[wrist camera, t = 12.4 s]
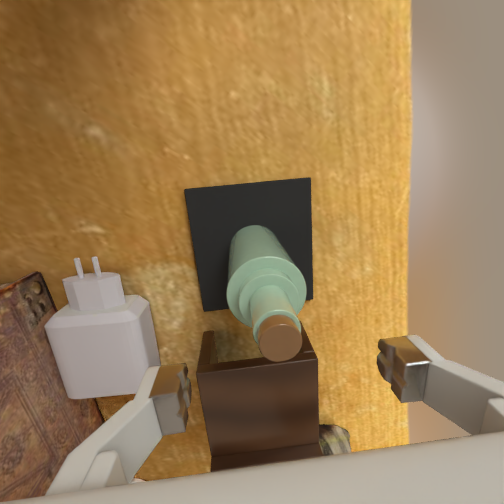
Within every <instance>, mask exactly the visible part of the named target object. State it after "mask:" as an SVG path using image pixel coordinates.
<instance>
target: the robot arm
mask: <svg viewBox="0 0 504 504" xmlns="http://www.w3.org/2000/svg"><path fill="white" fill-rule="evenodd" d="M378 348H379V349H380V351H381V352H380V353H379V354H378V356H377V365H378V369H379V372H380V374H381V375H382V377H383V378H384V380H386V381H387V382H389V383H391V389H392V391H393V392H394V394H395V395H396V396H397V398H398V399H399V400H400V402H401V403H405V402H415V401H423V402H424V403H425V404H427V405H429V406H430V407H431V408H433V409H434V410H436V411H437V412H439V413H440V414H442V415H443V416H445V417H446V418H448V419H449V420H451V421H452V422H454V423H455V424H457V425H458V426H459V427H461V428H462V429H464V430H465V431H467V432H468V433H470V434H471V435H470V436H463V437H456V438H449V439H443V440H435V441H428V442H421V443H415V444H407V445H400V446H393V447H386V448H379V449H371V450H364V451H357V452H350V453H343V454H336V455H329V456H322V457H315V458H308V459H301V460H294V461H287V462H280V463H273V464H266V465H259V466H252V467H245V468H238V469H230V470H223V471H216V472H209V473H202V474H195V475H188V476H181V477H174V478H167V479H160V480H153V481H146V482H139V483H132V484H129V482H130V481H131V480H132V478H133V477H134V475H135V474H136V473H137V471H138V470H139V469H140V467H141V466H142V465H143V463H144V462H145V460H146V459H147V458H148V456H149V455H150V454H151V452H152V451H153V449H154V448H155V447H156V445H157V444H158V443H159V441H160V440H161V438H162V436H163V435H170V434H176V433H182V432H185V431H186V425H187V420H188V412H187V408H188V407H189V406H190V403H191V382H190V379H189V378H187V374H188V368H187V364H186V363H181V364H171V365H161V366H153V367H148V368H147V369H146V371H145V374H144V376H143V378H142V381H141V383H140V385H139V388H138V390H137V393H136V395H135V397H134V400H132V401H129V402H128V403H126V404H125V405H124V406H123V407H122V408H121V409H120V410H118V411H117V412H116V413H115V414H114V415H113V416H112V417H110V418H109V419H108V420H107V421H106V422H105V423H104V424H102V425H101V426H100V427H99V428H98V429H97V430H96V431H94V432H93V433H92V434H91V435H90V436H89V437H88V438H87V439H85V440H84V441H83V442H82V443H81V444H80V445H79V446H77V447H76V448H75V449H74V450H73V451H72V452H71V453H69V454H68V456H67V457H66V459H65V461H64V463H63V464H62V466H61V468H60V470H59V471H58V473H57V475H56V477H55V478H54V480H53V482H52V484H51V485H50V487H49V489H48V491H47V492H46V494H45V496H40V497H33V498H26V499H19V500H12V501H5V502H0V504H504V382H502V381H500V380H497V379H495V378H492V377H490V376H487V375H485V374H482V373H480V372H477V371H475V370H473V369H470V368H468V367H465V366H463V365H461V364H458V363H456V362H453V361H451V360H445V359H444V358H443V357H442V356H441V355H439V354H438V353H437V352H436V351H435V350H434V349H433V348H432V347H430V346H429V345H428V344H427V343H426V342H425V341H424V340H423V339H422V338H420V337H419V336H418V335H415V334H414V335H407V336H402V337H394V338H386V339H380V340H379V342H378Z"/></svg>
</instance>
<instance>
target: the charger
mask: <svg viewBox="0 0 504 504" xmlns="http://www.w3.org/2000/svg"><path fill="white" fill-rule="evenodd" d="M92 262H93V266H94V270H95V273H88V274H84V273H83V269H82V266H81V262H80V258H75V259H74V263H75V266H76V270H77V274H78V275H77V276H72V277H68V278H64V279H62V281H63V285H64V288H65V292H66V295H67V299H68V302H69V303H68V304H67V305H65V306H64V307H63V308H62V309H60V310H59V311H58V312H56V313H55V314H54V315H53V316H52V317H51V318H50V319H49V321H48V322H47V323H46V324H45V326H44V327H45V330H46V333H47V336H48V339H49V342H50V345H51V348H52V351H53V354H54V357H55V360H56V363H57V366H58V369H59V372H60V375H61V378H62V381H63V384H64V387H65V390H66V393H67V396H68V397H69V398H71V399H85V398H95V397H105V396H115V395H125V394H135V393H137V390H138V388H139V385H140V383H141V381H142V378H143V376H144V374H145V371H146V369H147V368H148V367H153V366H161V362H160V357H159V352H158V347H157V342H156V336H155V331H154V326H153V321H152V316H151V310H150V305H149V301H147V300H145V299H144V298H142V297H141V296H139V295H124V292H123V288H122V283H121V279H120V275H119V274H118V273H111V272H101V270H100V266H99V262H98V258H97V257H96V256H94V257H92Z"/></svg>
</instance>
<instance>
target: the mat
mask: <svg viewBox="0 0 504 504" xmlns="http://www.w3.org/2000/svg"><path fill="white" fill-rule="evenodd" d="M184 191H185V197H186V204H187V210H188V216H189V222H190V228H191V235H192V241H193V247H194V253H195V259H196V266H197V272H198V278H199V284H200V290H201V297H202V303H203V309H204V312H206V311H215V310H223V309H230V308H229V305H228V302H227V278H228V260H229V246H230V242H231V240H232V238H233V236H234V235H235V234H236V233H237V232H238V231H239V230H241V229H242V228H244V227H247V226H252V225H259V226H263V227H266V228H268V229H269V230H271V231H272V232H273V233H274V234H275V235H276V237H277V238H278V240H279V241H280V243H281V244H282V246H283V247H284V249H285V250H286V251H287V253H288V254H289V256H290V257H291V259H292V260H293V262H294V263H295V265H296V266H297V267H298V269H299V270H300V272H301V273H302V275H303V277H304V280H305V283H306V289H307V291H306V299H305V300H312V299H313V268H312V218H311V178H298V179H288V180H277V181H266V182H256V183H245V184H234V185H224V186H213V187H202V188H192V189H185V190H184Z"/></svg>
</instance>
